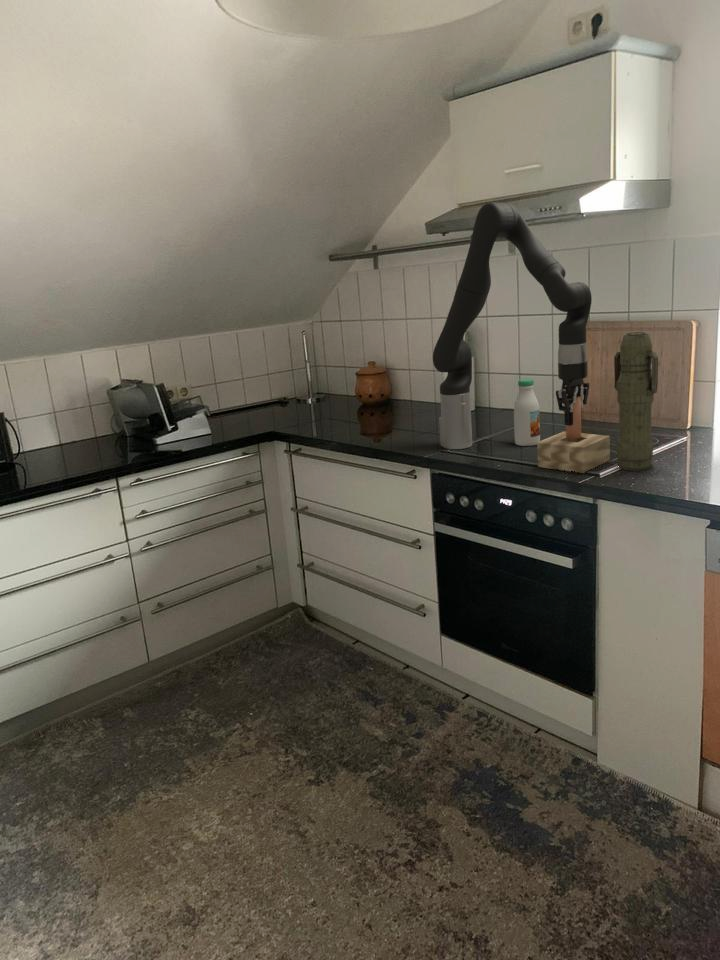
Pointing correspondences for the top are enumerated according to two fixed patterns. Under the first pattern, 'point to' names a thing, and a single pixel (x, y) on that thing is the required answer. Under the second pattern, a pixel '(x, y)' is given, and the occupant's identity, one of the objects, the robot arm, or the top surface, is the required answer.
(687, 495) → the top surface
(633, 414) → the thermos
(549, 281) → the robot arm
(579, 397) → the dowel pin
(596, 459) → the bore block
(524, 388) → the milk bottle
